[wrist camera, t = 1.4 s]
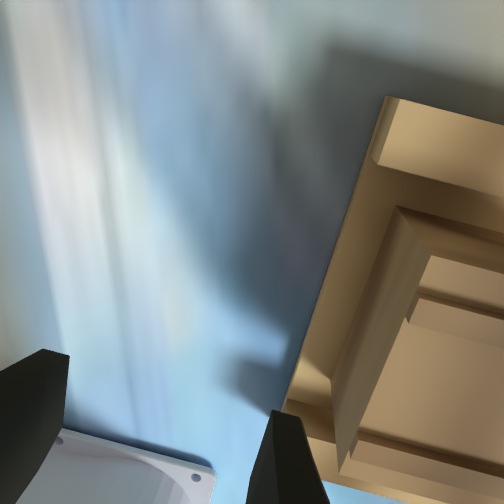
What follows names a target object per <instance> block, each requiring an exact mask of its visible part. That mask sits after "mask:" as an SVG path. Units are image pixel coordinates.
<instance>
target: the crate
mask: <svg viewBox="0 0 504 504" xmlns="http://www.w3.org/2000/svg"><path fill="white" fill-rule="evenodd" d="M330 384H331V395H332V406H333V417H334V428H335V439H336V451H337V462H338V473H339V474H340V475H343V476H347V477H351V478H355V479H358V480H362V481H366V482H370V483H373V484H377V485H381V486H385V487H388V488H392V489H396V490H400V491H403V492H407V493H411V494H415V495H418V496H422V497H426V498H430V499H433V500H437V501H441V502H444V503H448V504H504V233H501V232H497V231H493V230H489V229H485V228H481V227H478V226H474V225H470V224H466V223H462V222H459V221H455V220H451V219H447V218H443V217H439V216H436V215H432V214H428V213H424V212H420V211H416V210H413V209H409V208H405V207H401V206H397V205H395V208H394V210H393V213H392V216H391V218H390V221H389V224H388V226H387V229H386V232H385V234H384V237H383V240H382V242H381V245H380V248H379V250H378V253H377V256H376V258H375V261H374V264H373V267H372V269H371V272H370V275H369V277H368V280H367V283H366V285H365V288H364V291H363V293H362V296H361V299H360V301H359V304H358V307H357V309H356V312H355V315H354V317H353V320H352V323H351V325H350V328H349V331H348V333H347V336H346V339H345V342H344V344H343V347H342V350H341V352H340V355H339V358H338V360H337V363H336V366H335V368H334V371H333V374H332V376H331V379H330Z"/></svg>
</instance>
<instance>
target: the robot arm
mask: <svg viewBox="0 0 504 504" xmlns="http://www.w3.org/2000/svg"><path fill="white" fill-rule="evenodd" d="M69 358H70V356H69V355H65V354H61V353H58V352H54V351H50V350H46V349H41V350H39V351H37V352H35V353H33V354H32V355H30V356H28V357H26V358H24V359H22V360H20V361H19V362H17V363H15V364H13V365H11V366H9V367H7V368H6V369H4V370H2V371H0V504H210V501H211V497H212V494H213V490H214V487H215V483H216V479H217V474H216V472H215V471H214V470H213V469H212V468H209V467H206V466H202V465H198V464H195V463H191V462H187V461H183V460H180V459H176V458H172V457H169V456H165V455H161V454H157V453H154V452H150V451H146V450H142V449H139V448H135V447H131V446H127V445H124V444H120V443H116V442H113V441H109V440H105V439H101V438H98V437H94V436H90V435H86V434H83V433H79V432H75V431H71V430H68V429H64V428H62V426H63V416H64V406H65V397H66V387H67V378H68V368H69ZM59 437H60V438H59ZM61 438H62V439H61ZM195 474H198V475H195ZM246 504H330V502H329V499H328V496H327V494H326V491H325V489H324V486H323V484H322V481H321V478H320V475H319V473H318V470H317V467H316V464H315V461H314V458H313V455H312V452H311V449H310V446H309V442H308V439H307V436H306V432H305V429H304V425H303V422H302V420H301V419H300V417H298V416H294V415H290V414H287V413H283V412H279V411H275V410H272V412H271V415H270V418H269V421H268V424H267V427H266V430H265V433H264V436H263V440H262V443H261V446H260V449H259V452H258V455H257V458H256V461H255V464H254V467H253V470H252V473H251V477H250V481H249V487H248V493H247V499H246Z"/></svg>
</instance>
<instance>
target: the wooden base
mask: <svg viewBox="0 0 504 504" xmlns="http://www.w3.org/2000/svg"><path fill="white" fill-rule="evenodd" d="M395 205H397V206H401V207H405V208H409V209H413V210H416V211H420V212H424V213H428V214H432V215H436V216H439V217H443V218H447V219H451V220H455V221H459V222H462V223H466V224H470V225H474V226H478V227H481V228H485V229H489V230H493V231H497V232H501V233H504V126H503V125H500V124H496V123H492V122H488V121H484V120H480V119H476V118H473V117H469V116H465V115H461V114H457V113H453V112H449V111H446V110H442V109H438V108H434V107H430V106H426V105H423V104H419V103H415V102H411V101H407V100H403V99H399V98H395V97H391V96H387V95H385V98H384V101H383V104H382V107H381V110H380V113H379V116H378V119H377V122H376V125H375V128H374V131H373V134H372V137H371V140H370V143H369V146H368V149H367V152H366V155H365V158H364V161H363V164H362V167H361V170H360V173H359V176H358V179H357V182H356V185H355V188H354V191H353V194H352V197H351V200H350V203H349V206H348V209H347V212H346V215H345V218H344V221H343V224H342V227H341V230H340V233H339V236H338V240H337V243H336V246H335V249H334V252H333V255H332V258H331V261H330V264H329V267H328V270H327V273H326V276H325V279H324V282H323V285H322V288H321V291H320V294H319V297H318V300H317V303H316V306H315V309H314V312H313V315H312V318H311V321H310V324H309V327H308V330H307V333H306V336H305V339H304V342H303V345H302V348H301V351H300V354H299V357H298V360H297V363H296V366H295V369H294V372H293V375H292V378H291V381H290V384H289V387H288V390H287V393H286V396H285V399H284V402H283V405H282V408H281V411H280V412H283V413H287V414H290V415H294V416H298V417H300V419H301V420H302V422H303V425H304V429H305V432H306V436H307V439H308V442H309V446H310V449H311V452H312V455H313V458H314V461H315V464H316V467H317V470H318V473H319V475H320V478H321V480H323V481H327V482H331V483H335V484H338V485H342V486H346V487H350V488H353V489H357V490H361V491H365V492H368V493H372V494H376V495H380V496H383V497H387V498H391V499H395V500H398V501H402V502H406V503H409V504H448V503H444V502H441V501H437V500H433V499H430V498H426V497H422V496H418V495H415V494H411V493H407V492H403V491H400V490H396V489H392V488H388V487H385V486H381V485H377V484H373V483H370V482H366V481H362V480H358V479H355V478H351V477H347V476H343V475H340V474H339V473H338V462H337V451H336V439H335V428H334V417H333V406H332V395H331V384H330V379H331V376H332V374H333V371H334V368H335V366H336V363H337V360H338V358H339V355H340V352H341V350H342V347H343V344H344V342H345V339H346V336H347V333H348V331H349V328H350V325H351V323H352V320H353V317H354V315H355V312H356V309H357V307H358V304H359V301H360V299H361V296H362V293H363V291H364V288H365V285H366V283H367V280H368V277H369V275H370V272H371V269H372V267H373V264H374V261H375V258H376V256H377V253H378V250H379V248H380V245H381V242H382V240H383V237H384V234H385V232H386V229H387V226H388V224H389V221H390V218H391V216H392V213H393V210H394V208H395Z"/></svg>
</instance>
